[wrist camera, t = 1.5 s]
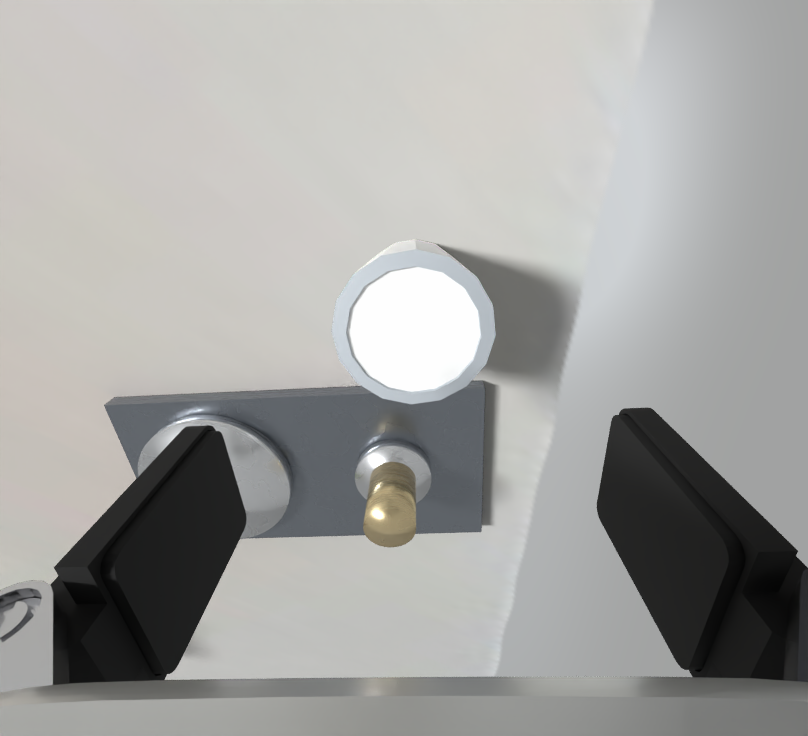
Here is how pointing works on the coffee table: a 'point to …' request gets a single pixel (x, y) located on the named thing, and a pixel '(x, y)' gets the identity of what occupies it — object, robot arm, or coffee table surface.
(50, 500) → the coffee table surface
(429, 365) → the shot glass
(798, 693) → the robot arm
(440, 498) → the flange plate
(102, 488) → the coffee table surface
